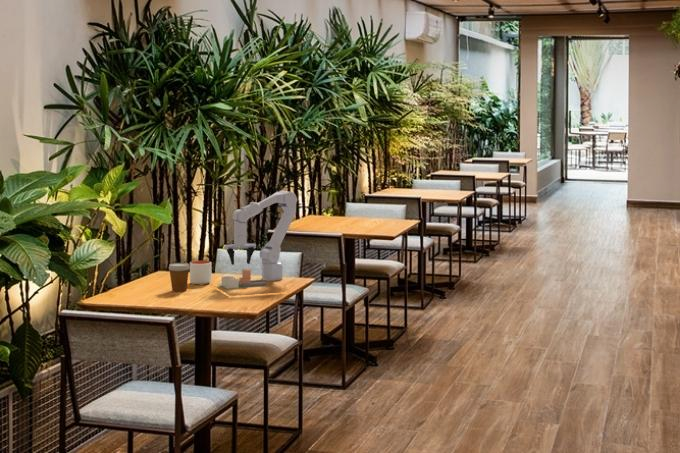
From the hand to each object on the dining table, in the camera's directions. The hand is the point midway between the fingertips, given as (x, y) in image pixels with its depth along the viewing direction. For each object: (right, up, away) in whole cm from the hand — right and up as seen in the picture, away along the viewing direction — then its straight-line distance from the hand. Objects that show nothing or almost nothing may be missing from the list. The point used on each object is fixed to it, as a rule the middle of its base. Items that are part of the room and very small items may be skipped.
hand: (240, 264), depth 475 cm
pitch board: (+2, -10, -7) cm, 12 cm away
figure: (+4, -10, -8) cm, 13 cm away
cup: (-19, -9, +2) cm, 21 cm away
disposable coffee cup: (-26, -12, -17) cm, 33 cm away
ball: (-2, -8, -11) cm, 14 cm away
